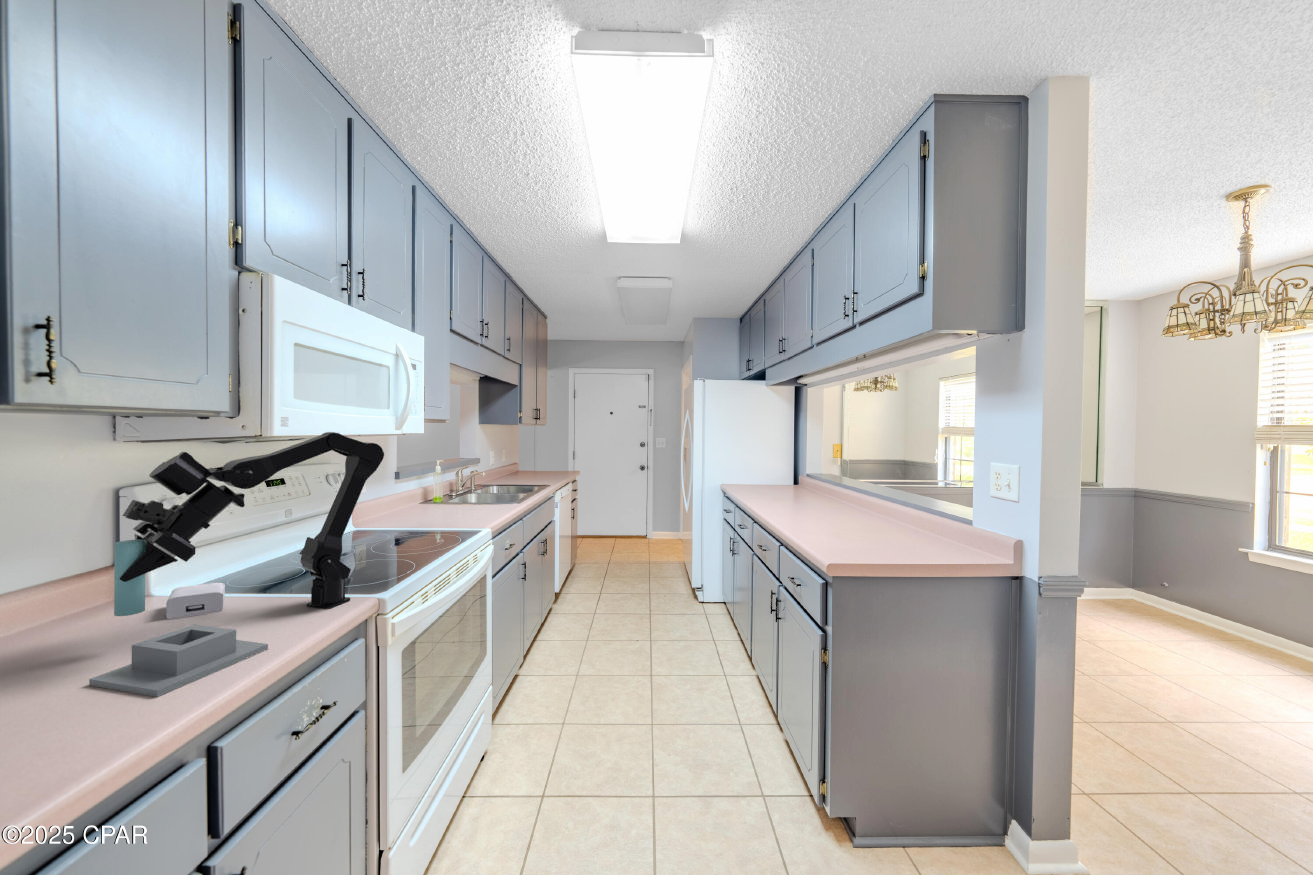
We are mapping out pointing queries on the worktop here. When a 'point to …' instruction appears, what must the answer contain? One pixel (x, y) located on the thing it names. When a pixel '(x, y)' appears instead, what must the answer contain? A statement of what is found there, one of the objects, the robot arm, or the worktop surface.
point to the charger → (195, 600)
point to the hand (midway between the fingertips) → (119, 578)
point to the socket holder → (178, 660)
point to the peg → (133, 591)
